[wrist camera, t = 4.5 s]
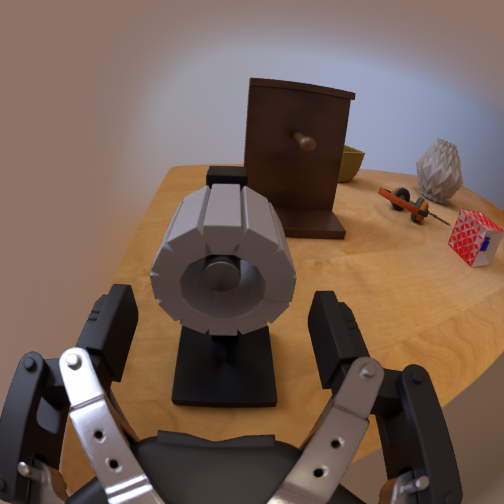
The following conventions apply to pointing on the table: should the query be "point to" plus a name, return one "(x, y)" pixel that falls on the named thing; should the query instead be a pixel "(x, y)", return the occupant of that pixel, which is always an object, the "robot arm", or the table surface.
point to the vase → (439, 172)
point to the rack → (297, 152)
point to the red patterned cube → (475, 238)
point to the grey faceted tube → (224, 243)
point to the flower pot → (350, 163)
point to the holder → (224, 341)
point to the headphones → (408, 203)
